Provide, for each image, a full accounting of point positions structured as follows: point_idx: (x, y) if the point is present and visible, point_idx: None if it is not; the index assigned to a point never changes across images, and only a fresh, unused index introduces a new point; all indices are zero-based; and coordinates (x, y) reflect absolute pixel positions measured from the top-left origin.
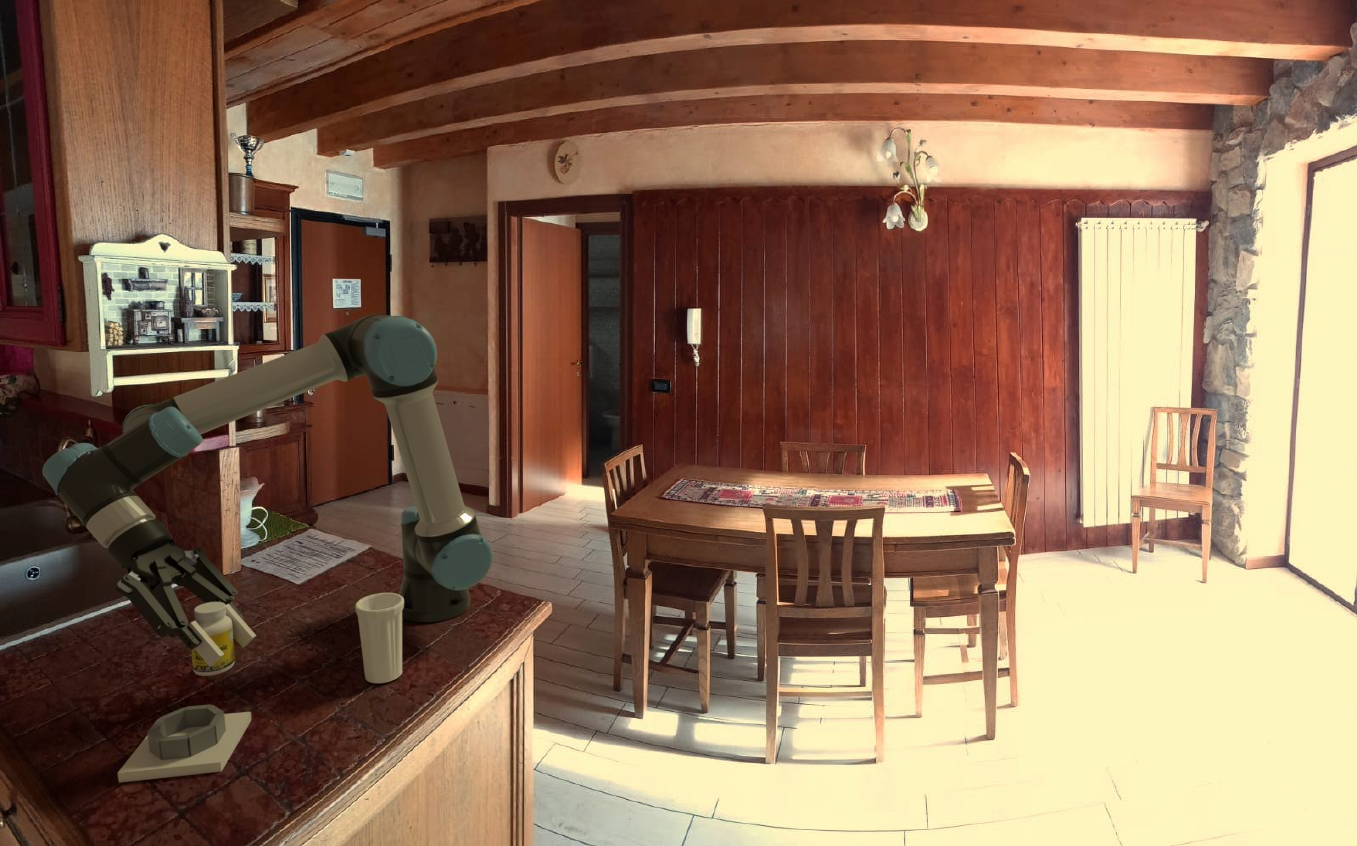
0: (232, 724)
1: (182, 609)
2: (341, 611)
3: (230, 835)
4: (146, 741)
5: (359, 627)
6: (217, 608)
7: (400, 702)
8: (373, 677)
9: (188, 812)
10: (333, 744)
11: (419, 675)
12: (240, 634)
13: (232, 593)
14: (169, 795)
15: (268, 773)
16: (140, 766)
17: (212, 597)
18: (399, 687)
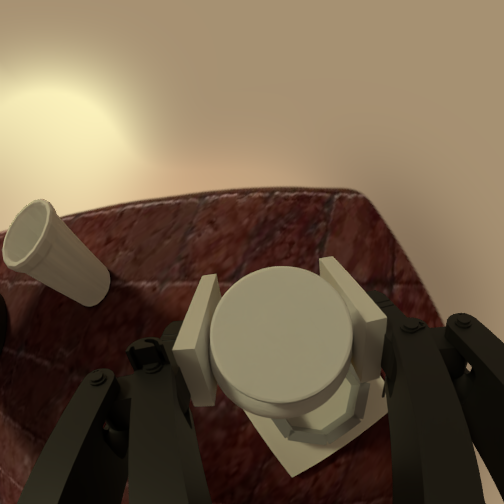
0: None
1: (405, 370)
2: (6, 430)
3: (380, 216)
4: (339, 442)
5: (58, 266)
6: (277, 283)
7: (140, 229)
8: (106, 277)
9: (387, 278)
10: (232, 235)
11: (89, 249)
12: None
13: (110, 377)
14: None
15: (305, 258)
16: (380, 392)
17: (184, 423)
18: (112, 251)
